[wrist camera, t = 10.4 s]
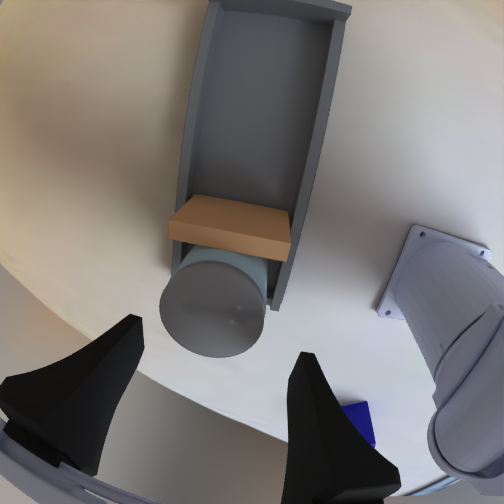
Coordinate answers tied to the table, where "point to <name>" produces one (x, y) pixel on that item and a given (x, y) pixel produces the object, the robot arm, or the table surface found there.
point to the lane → (261, 111)
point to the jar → (216, 301)
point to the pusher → (232, 227)
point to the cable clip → (361, 420)
